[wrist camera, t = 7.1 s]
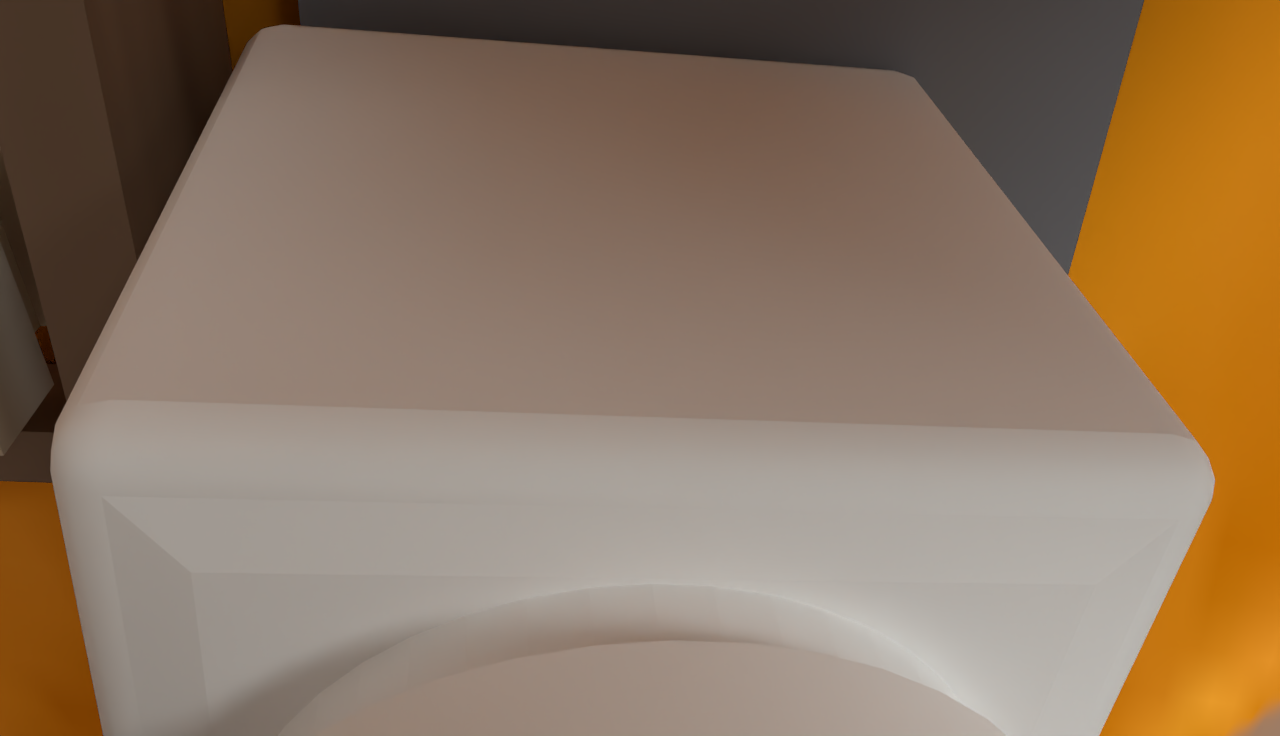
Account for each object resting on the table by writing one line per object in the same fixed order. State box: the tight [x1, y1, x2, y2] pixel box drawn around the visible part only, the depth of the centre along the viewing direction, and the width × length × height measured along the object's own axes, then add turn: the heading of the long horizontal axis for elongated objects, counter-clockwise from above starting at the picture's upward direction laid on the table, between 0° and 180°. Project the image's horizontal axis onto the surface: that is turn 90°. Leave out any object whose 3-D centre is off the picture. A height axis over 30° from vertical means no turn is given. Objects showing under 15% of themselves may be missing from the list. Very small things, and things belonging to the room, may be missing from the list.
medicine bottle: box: [50, 24, 1215, 736], centre depth 10 cm, size 7×7×12 cm
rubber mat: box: [298, 0, 1144, 275], centre depth 15 cm, size 9×9×1 cm
